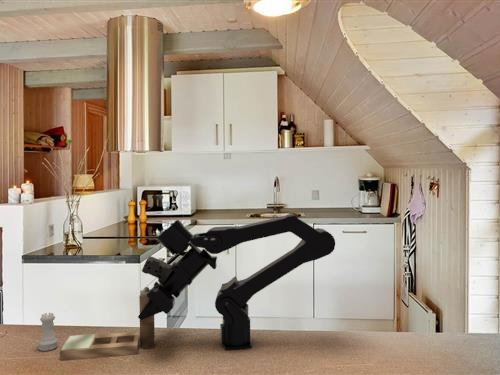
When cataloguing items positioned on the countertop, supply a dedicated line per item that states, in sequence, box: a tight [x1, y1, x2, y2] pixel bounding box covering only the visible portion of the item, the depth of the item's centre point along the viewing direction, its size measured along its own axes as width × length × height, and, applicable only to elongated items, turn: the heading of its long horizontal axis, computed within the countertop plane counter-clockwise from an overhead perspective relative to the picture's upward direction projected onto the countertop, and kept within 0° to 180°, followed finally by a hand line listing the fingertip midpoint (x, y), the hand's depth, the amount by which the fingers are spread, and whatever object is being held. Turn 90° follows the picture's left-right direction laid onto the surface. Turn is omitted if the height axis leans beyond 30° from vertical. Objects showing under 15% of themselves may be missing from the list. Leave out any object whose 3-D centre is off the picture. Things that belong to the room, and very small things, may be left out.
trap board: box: [59, 330, 140, 361], centre depth 99 cm, size 16×9×2 cm, turn 101°
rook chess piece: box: [37, 312, 59, 352], centre depth 100 cm, size 4×4×8 cm
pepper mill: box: [138, 286, 156, 349], centre depth 101 cm, size 3×3×14 cm
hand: (141, 315), depth 101 cm, fingers closed on pepper mill, 3 cm apart
